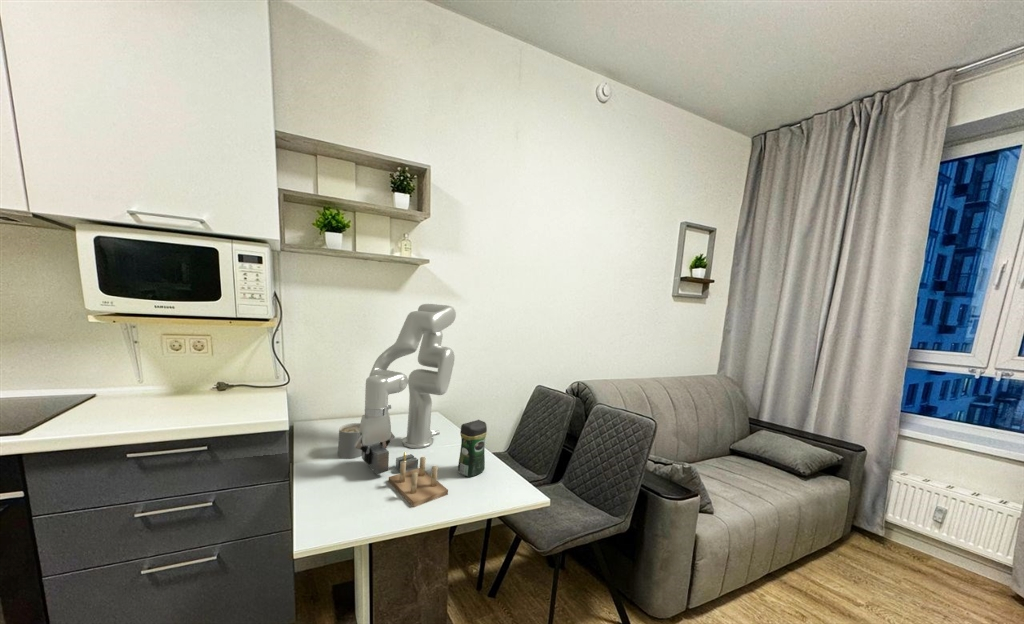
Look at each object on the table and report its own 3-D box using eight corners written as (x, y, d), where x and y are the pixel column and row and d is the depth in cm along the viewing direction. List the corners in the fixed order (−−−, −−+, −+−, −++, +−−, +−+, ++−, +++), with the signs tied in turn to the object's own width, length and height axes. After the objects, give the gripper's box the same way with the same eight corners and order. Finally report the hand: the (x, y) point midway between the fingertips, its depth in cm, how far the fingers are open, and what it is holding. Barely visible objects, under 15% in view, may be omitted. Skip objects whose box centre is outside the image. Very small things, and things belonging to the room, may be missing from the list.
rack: (420, 471, 126) (422, 451, 126) (447, 494, 113) (449, 471, 113) (388, 481, 118) (389, 459, 118) (413, 507, 105) (415, 482, 105)
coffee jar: (473, 463, 135) (476, 416, 135) (487, 471, 130) (491, 422, 129) (453, 471, 128) (457, 421, 128) (467, 480, 123) (471, 428, 122)
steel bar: (372, 454, 131) (373, 436, 131) (388, 470, 121) (388, 451, 121) (361, 457, 129) (362, 439, 128) (376, 474, 118) (377, 454, 118)
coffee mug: (345, 461, 130) (347, 434, 129) (332, 452, 135) (334, 427, 135) (378, 450, 140) (380, 426, 140) (365, 443, 146) (366, 419, 146)
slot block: (410, 463, 132) (411, 447, 132) (417, 468, 128) (418, 452, 128) (395, 467, 128) (396, 451, 128) (402, 473, 124) (403, 456, 124)
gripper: (394, 403, 132) (392, 450, 133) (347, 412, 120) (346, 463, 122) (403, 409, 126) (401, 458, 128) (355, 419, 115) (353, 473, 116)
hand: (374, 460), depth 125 cm, fingers closed on steel bar, 4 cm apart
